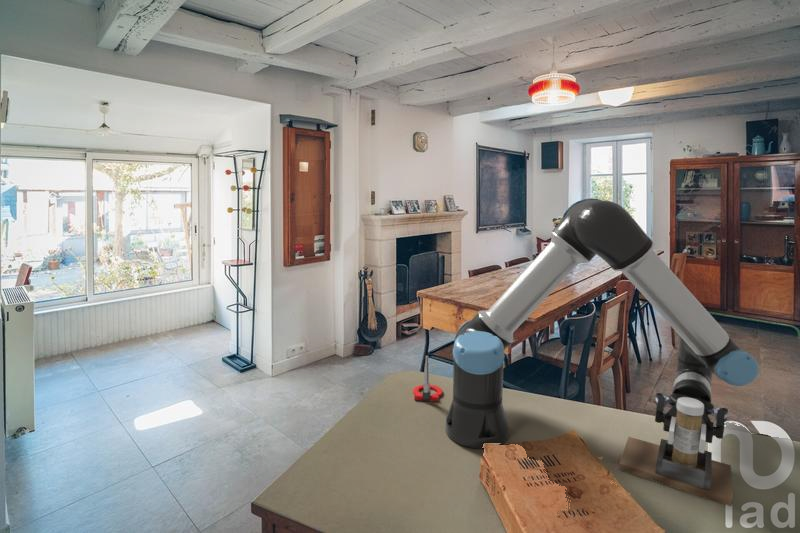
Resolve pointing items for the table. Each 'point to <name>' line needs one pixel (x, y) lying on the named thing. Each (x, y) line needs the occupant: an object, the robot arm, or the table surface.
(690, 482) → the cup bracket
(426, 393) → the tow hook
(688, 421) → the sprinkles bottle
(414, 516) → the table surface
